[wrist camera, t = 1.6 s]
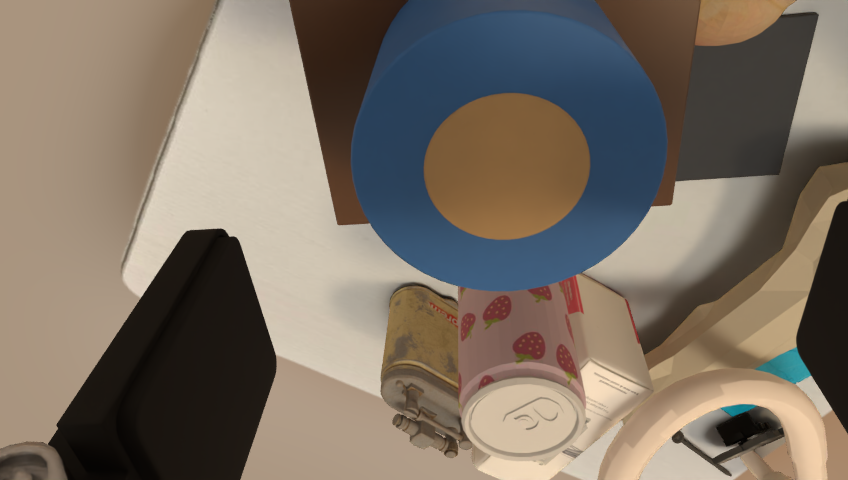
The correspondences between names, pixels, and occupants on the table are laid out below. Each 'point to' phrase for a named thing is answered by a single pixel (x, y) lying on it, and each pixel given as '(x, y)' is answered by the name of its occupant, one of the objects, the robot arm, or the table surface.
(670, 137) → the tall wooden box
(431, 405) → the lighter
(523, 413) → the beverage can
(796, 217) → the faceted club
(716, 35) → the fruit
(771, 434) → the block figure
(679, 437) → the screw
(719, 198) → the table surface
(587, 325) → the ink box
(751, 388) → the faucet
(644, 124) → the tape
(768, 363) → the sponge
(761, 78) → the mat
